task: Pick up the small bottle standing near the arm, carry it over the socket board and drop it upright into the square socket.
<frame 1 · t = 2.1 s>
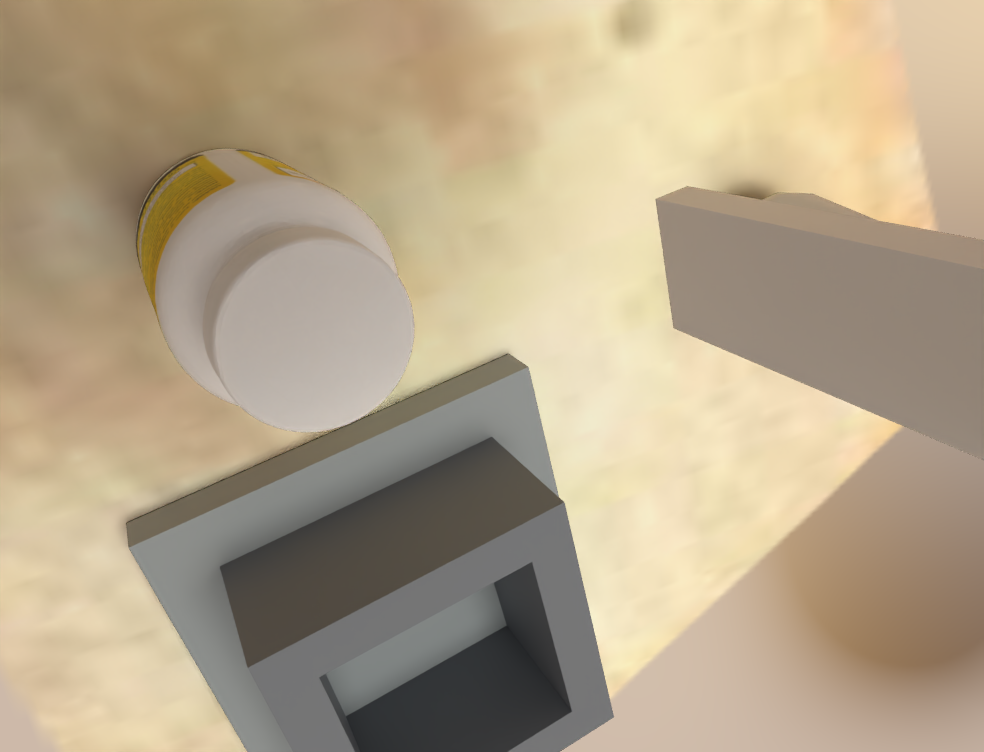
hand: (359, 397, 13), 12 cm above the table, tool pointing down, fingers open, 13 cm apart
supplement bottle: (233, 240, 23), on the table
salt shaker: (736, 254, 32), on the table
socket board: (390, 581, 30), on the table
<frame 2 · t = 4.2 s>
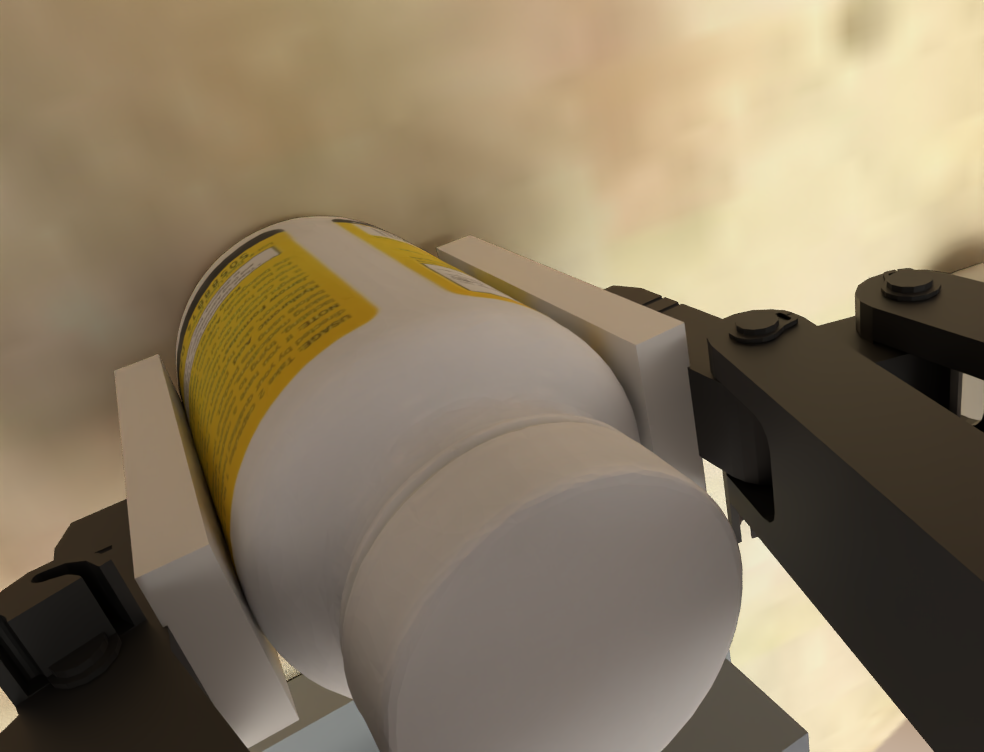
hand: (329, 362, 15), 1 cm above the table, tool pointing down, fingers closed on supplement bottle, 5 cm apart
supplement bottle: (316, 346, 16), on the table, touching gripper
salt shaker: (947, 326, 25), on the table
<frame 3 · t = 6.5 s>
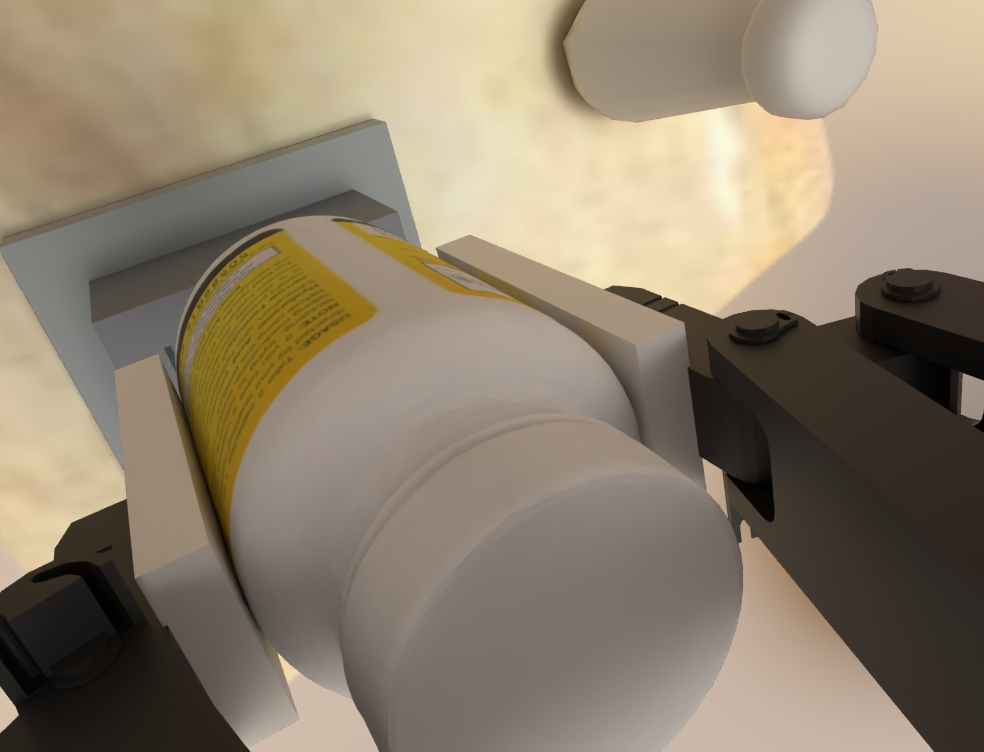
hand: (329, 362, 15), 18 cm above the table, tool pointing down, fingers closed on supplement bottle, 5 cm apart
supplement bottle: (316, 346, 16), point 17 cm above the table, touching gripper
salt shaker: (600, 48, 35), on the table
socket board: (268, 339, 32), on the table
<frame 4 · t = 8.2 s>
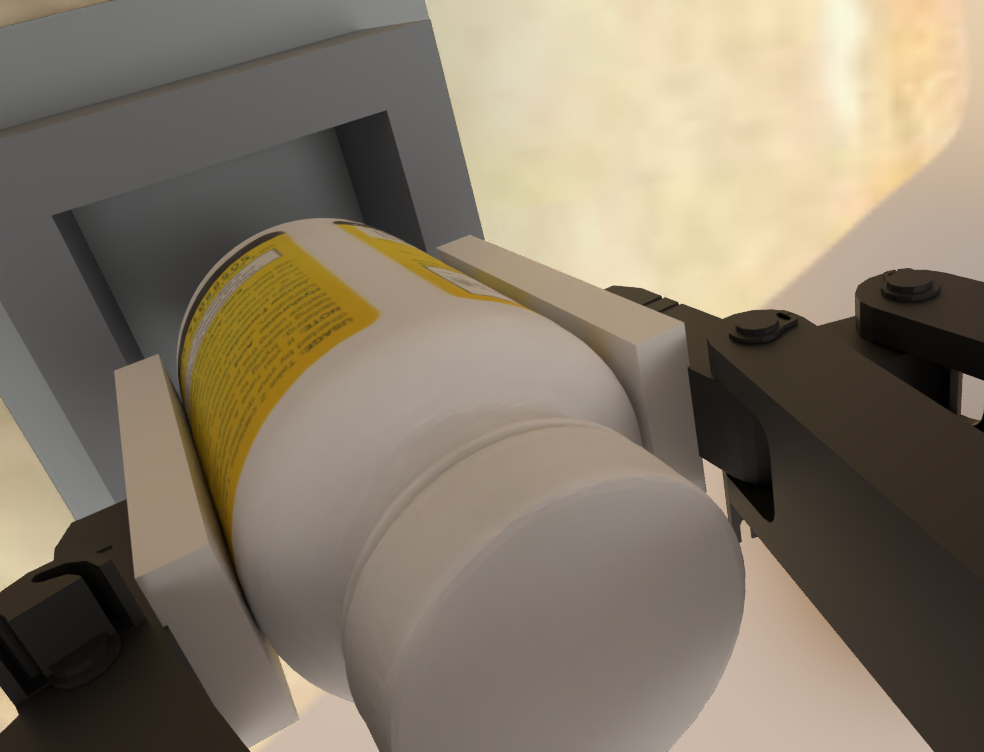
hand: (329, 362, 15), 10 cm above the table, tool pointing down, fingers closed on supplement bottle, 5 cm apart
supplement bottle: (317, 348, 16), point 9 cm above the table, touching gripper
socket board: (240, 256, 23), on the table
when the fingers open (8 cm above the table, at t = 9.3 s): supplement bottle drops 5 cm, resting on socket board.
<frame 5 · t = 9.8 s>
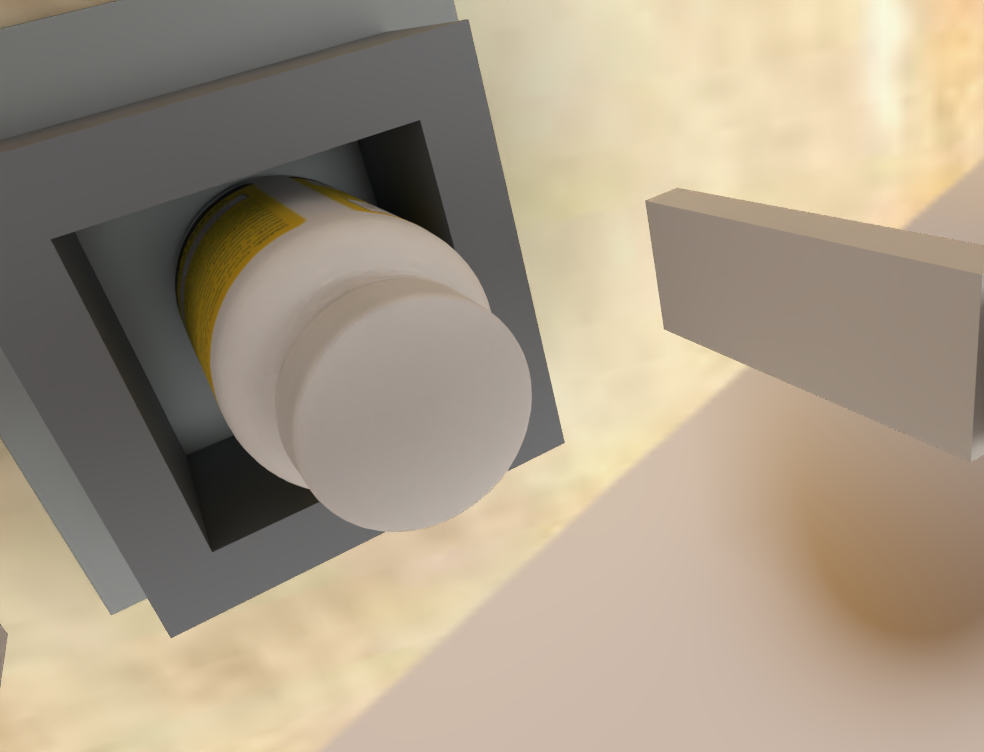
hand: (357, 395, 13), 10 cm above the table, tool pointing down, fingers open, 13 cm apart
supplement bottle: (282, 278, 20), point 1 cm above the table, touching socket board
socket board: (254, 275, 21), on the table
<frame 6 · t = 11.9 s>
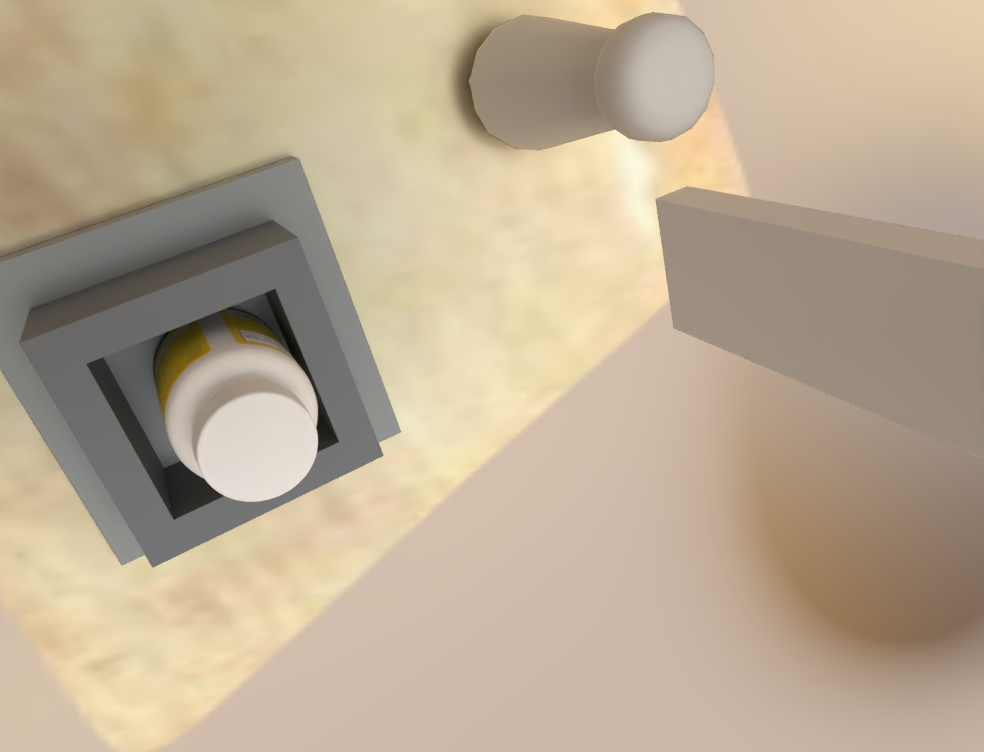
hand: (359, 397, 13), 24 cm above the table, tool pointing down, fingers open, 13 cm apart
supplement bottle: (218, 361, 34), point 1 cm above the table, touching socket board
salt shaker: (505, 85, 38), on the table
socket board: (203, 358, 35), on the table
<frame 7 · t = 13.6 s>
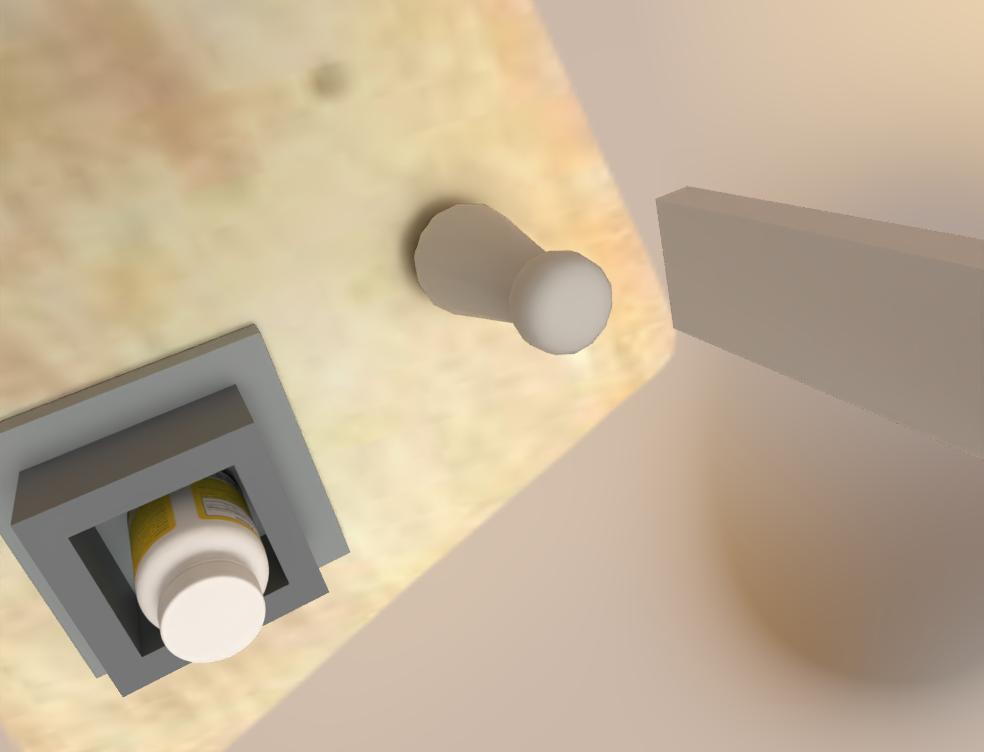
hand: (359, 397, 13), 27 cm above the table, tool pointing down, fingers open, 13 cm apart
supplement bottle: (186, 503, 39), point 1 cm above the table, touching socket board
salt shaker: (449, 250, 42), on the table
socket board: (173, 496, 40), on the table
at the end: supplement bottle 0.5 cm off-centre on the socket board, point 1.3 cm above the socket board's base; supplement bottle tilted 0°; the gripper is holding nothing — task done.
